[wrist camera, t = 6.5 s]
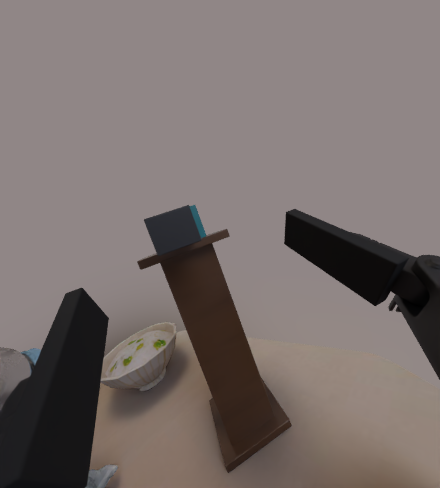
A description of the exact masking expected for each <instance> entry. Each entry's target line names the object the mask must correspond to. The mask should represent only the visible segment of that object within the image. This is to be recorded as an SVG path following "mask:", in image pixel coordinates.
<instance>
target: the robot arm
mask: <svg viewBox="0 0 440 488" xmlns="http://www.w3.org/2000/svg"><path fill="white" fill-rule="evenodd" d="M284 244H285V245H287V246H288V247H289V248H291V249H293V250H294V251H295V252H297V253H298V254H300V255H301V256H303V257H304V258H306V259H307V260H308V261H310V262H312V263H313V264H314V265H316V266H317V267H319V268H320V269H322V270H323V271H325V272H326V273H328V274H329V275H330V276H332V277H333V278H335V279H336V280H338V281H339V282H341V283H342V284H344V285H345V286H347V287H348V288H350V289H351V290H352V291H354V292H355V293H357V294H358V295H360V296H361V297H363V298H364V299H366V300H367V301H368V302H370V303H371V304H373V305H374V306H376V305H378V304H380V303H381V302H383V301H385V300H386V298H387V297H388V295H389V293H390V291H392V292H393V293H394V294H396V295H395V296H394V298H393V300H392V301H391V303H390V305H389V311H392V310H393V309H394V307H395V305H396V304H397V305H398V307H397V309H396V311H397V312H402V314H403V316H404V318H405V319H406V321H407V323H408V325H409V326H410V328H411V330H412V332H413V334H414V335H415V337H416V339H417V340H418V342H419V344H420V346H421V347H422V349H423V351H424V353H425V355H426V356H427V358H428V360H429V362H430V363H431V365H432V367H433V369H434V371H435V372H436V374H437V376H438V377H439V379H440V257H439V256H434V255H421V256H419V257H414V256H411V255H409V254H406V253H404V252H401V251H399V250H397V249H394V248H392V247H389V246H387V245H385V244H382V243H378V242H377V241H375V240H371V239H370V238H368V237H365V236H363V235H360V234H356V233H352V232H348V231H345V230H343V229H340V228H338V227H336V226H334V225H331V224H329V223H326V222H324V221H322V220H319V219H317V218H315V217H312V216H310V215H308V214H305V213H303V212H301V211H298V210H296V209H293V210H291V211H288V212H286V224H285V242H284ZM108 320H109V318H108V317H107V316H106V315H105V313H104V312H103V311H102V310H101V309H100V308H99V306H98V305H97V304H96V303H95V302H94V301H93V300H92V298H91V297H90V296H89V295H88V294H87V293H86V291H85V290H84V289H83V288H79V289H77V290H74V291H71V292H69V293H66V294H65V296H64V299H63V301H62V304H61V306H60V308H59V310H58V313H57V315H56V317H55V320H54V322H53V324H52V327H51V329H50V331H49V334H48V336H47V338H46V341H45V343H44V345H43V348H42V350H40V349H36V348H33V349H30V350H28V351H24V352H21V353H20V352H18V351H16V350H14V349H9V348H1V347H0V488H85V487H86V486H87V482H88V474H89V467H90V459H91V451H92V444H93V436H94V428H95V420H96V413H97V405H98V397H99V389H100V382H101V374H102V366H103V359H104V351H105V343H106V335H107V327H108Z"/></svg>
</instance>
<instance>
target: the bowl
mask: <svg viewBox="0 0 440 488" xmlns="http://www.w3.org/2000/svg"><path fill="white" fill-rule="evenodd" d="M175 339H176V324H173V323H169V322H164V323H160V324H155V325H152V326H150V327H148V328H146V329H143V330H141V331H139V332H137V333H135V334H134V335H132V336H131V337H129V338H127V339H126V340H125V341H123V342H121V343H120V344H118V345H117V346H116V347H115V348H114V349H113V350H112V351H111V352H110V353H109V354H107V355H106V356H105V357H104V359H103V366H102V374H101V383H103V384H105V385H107V386H109V387H111V388H122V389H132V388H138V389H139V390H140V391H147V390H149V389H151V388H152V387H154V386H156V385H157V384H158V383H159V382H160V381H161V380H162V379H163V377H164V375H165V374H166V368H165V367H166V365H167V364H168V362H169V361H170V358H171V355H172V353H173V350H174V347H175Z"/></svg>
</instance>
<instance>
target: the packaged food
mask: <svg viewBox="0 0 440 488" xmlns="http://www.w3.org/2000/svg"><path fill="white" fill-rule="evenodd" d="M117 469H118V466H116V465H111V464H110V465H105V466H104V467H102V468H101V469H100V470H93V469H92V470H89V474H88V482H87V486H86V487H85V488H105V487H106V485H107V483H108V481H109V479H110V478H111V477H112V476H113V474H114V473H115V472H116V470H117Z"/></svg>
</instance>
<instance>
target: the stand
mask: <svg viewBox="0 0 440 488" xmlns="http://www.w3.org/2000/svg"><path fill="white" fill-rule="evenodd" d="M226 237H229V233H228V230H227V229H225V230H222V231H218V232H215V233H212V234H208V235H206V237H203V238H201V239H202V241H199V242H197V243H194V244H191V245H188V246H186V247H183V248H180V249H177V250H175V251H172V252H169V253H166V254H164V255H161V256H158V255H157V253H156V254H153V255H150V256H148V257H146V258H144V259H142V260H139V261H138V265H139V267H140V269H144V268H147V267H150V266H152V265H155V264H158V263H160V264H161V266H162V269H163V271H164V273H165V276H166V279H167V281H168V283H169V287H170V289H171V291H172V294H173V296H174V299H175V302H176V304H177V307H178V309H179V312H180V314H181V317H182V320H183V322H184V325H185V327H186V330H187V333H188V335H189V338H190V340H191V343H192V345H193V348H194V350H195V353H196V355H197V358H198V361H199V363H200V366H201V368H202V371H203V373H204V376H205V378H206V381H207V384H208V386H209V389H210V391H211V394H212V396H213V398H212V399H211V400H209V401H210V405H211V410H212V414H213V418H214V422H215V426H216V430H217V434H218V438H219V442H220V447H221V451H222V455H223V459H224V463H225V467H226V469H227V472H228V473H229V472H230V471H232V470H233V469H234V468H236V467H237V466H238V465H240V464H241V463H242V462H244V461H245V460H246V459H248V458H249V457H250V456H252V455H253V454H254V453H256V452H257V451H258V450H260V449H261V448H262V447H264V446H265V445H266V444H268V443H269V442H270V441H272V440H273V439H274V438H276V437H277V436H278V435H280V434H281V433H283V432H284V431H285V430H287V429H288V428H289V427H291V423H290V420H289V418H288V417H287V415H286V414H285V412H284V411H283V410H282V408H281V407H280V405H279V404H278V402H277V401H276V399H275V398H274V396H273V395H272V393H271V392H270V390H269V389H268V387H267V386H266V384H265V383H264V381H263V380H262V378H261V377H260V374H259V372H258V369H257V366H256V363H255V361H254V358H253V355H252V352H251V350H250V347H249V344H248V341H247V338H246V336H245V333H244V330H243V328H242V325H241V322H240V319H239V316H238V314H237V311H236V308H235V305H234V303H233V300H232V297H231V294H230V291H229V289H228V286H227V283H226V281H225V278H224V275H223V272H222V269H221V267H220V264H219V261H218V258H217V256H216V253H215V250H214V248H213V245H212V243H213V242H216V241H219V240H221V239H224V238H226Z"/></svg>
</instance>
